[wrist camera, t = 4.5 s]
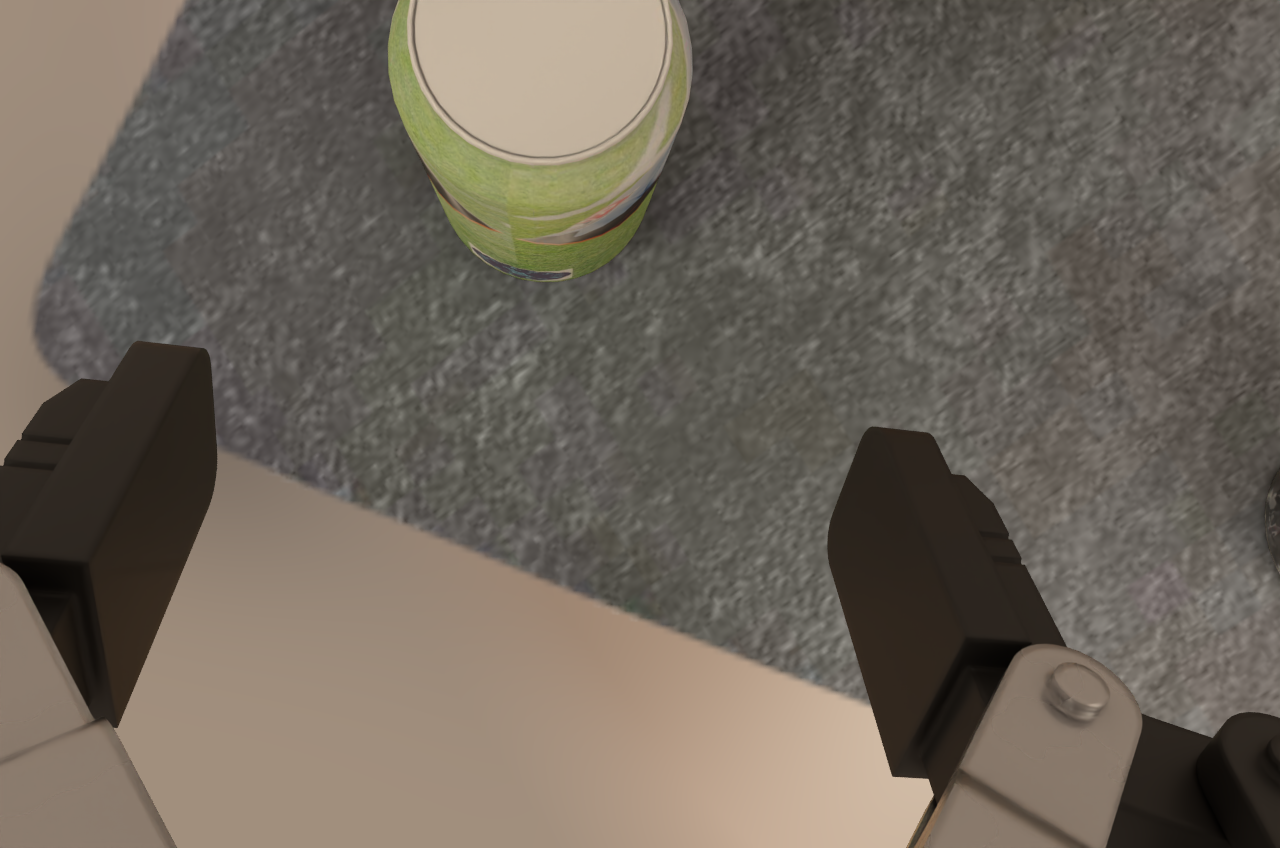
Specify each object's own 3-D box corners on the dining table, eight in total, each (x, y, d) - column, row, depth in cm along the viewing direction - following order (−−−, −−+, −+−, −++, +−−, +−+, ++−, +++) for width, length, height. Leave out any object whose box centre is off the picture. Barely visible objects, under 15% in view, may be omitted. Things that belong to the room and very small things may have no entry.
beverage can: (672, 150, 32) (796, -99, 20) (576, 364, 30) (650, 230, 19) (482, 59, 31) (496, -254, 19) (375, 273, 30) (320, 73, 18)
